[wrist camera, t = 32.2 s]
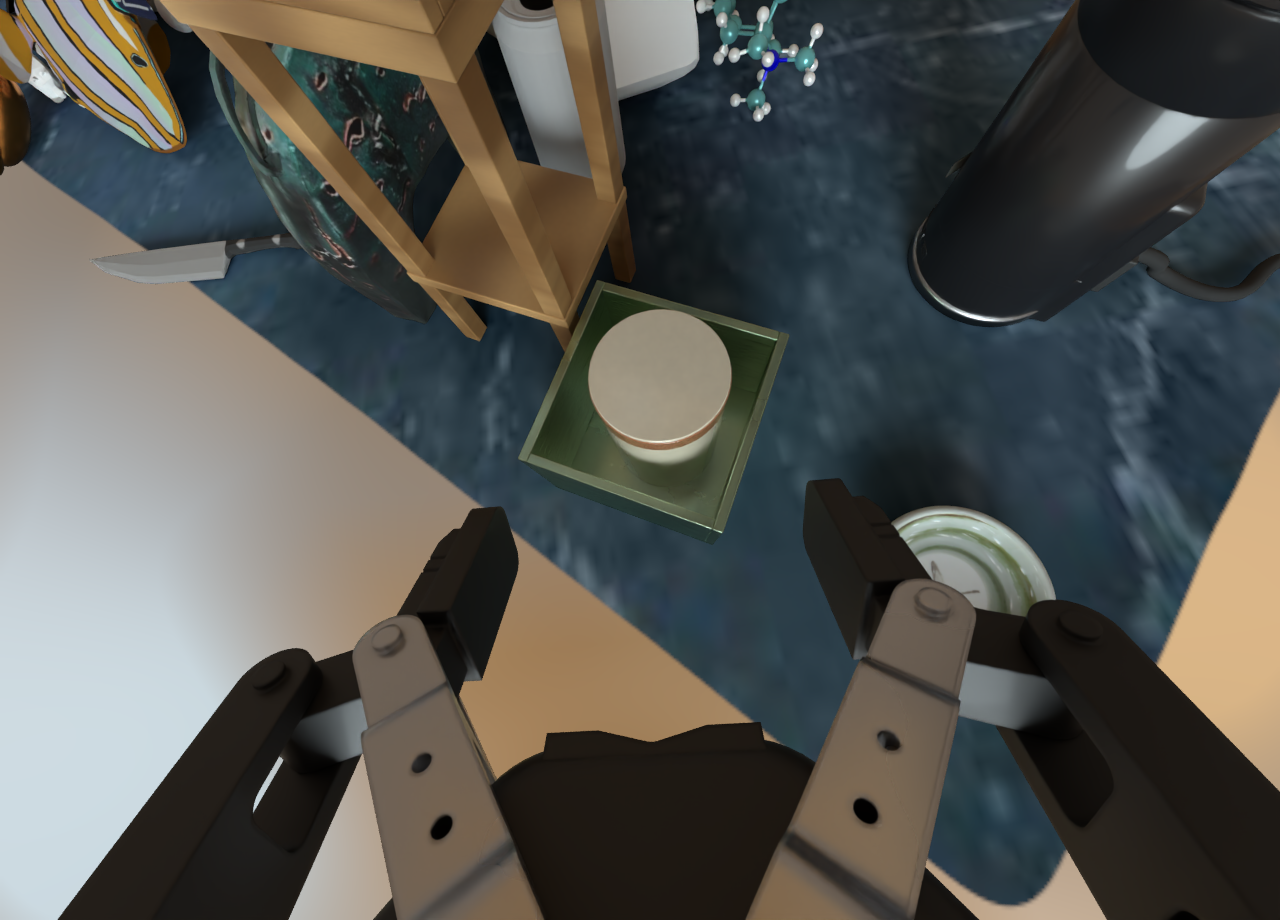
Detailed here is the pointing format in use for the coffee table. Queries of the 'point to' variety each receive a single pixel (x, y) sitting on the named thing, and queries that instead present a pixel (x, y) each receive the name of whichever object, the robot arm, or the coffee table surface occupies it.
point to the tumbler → (661, 393)
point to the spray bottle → (651, 43)
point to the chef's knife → (187, 260)
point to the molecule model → (759, 48)
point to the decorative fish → (99, 62)
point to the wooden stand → (492, 176)
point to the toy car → (46, 81)
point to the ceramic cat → (379, 140)
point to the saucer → (976, 557)
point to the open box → (585, 453)
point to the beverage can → (550, 82)
